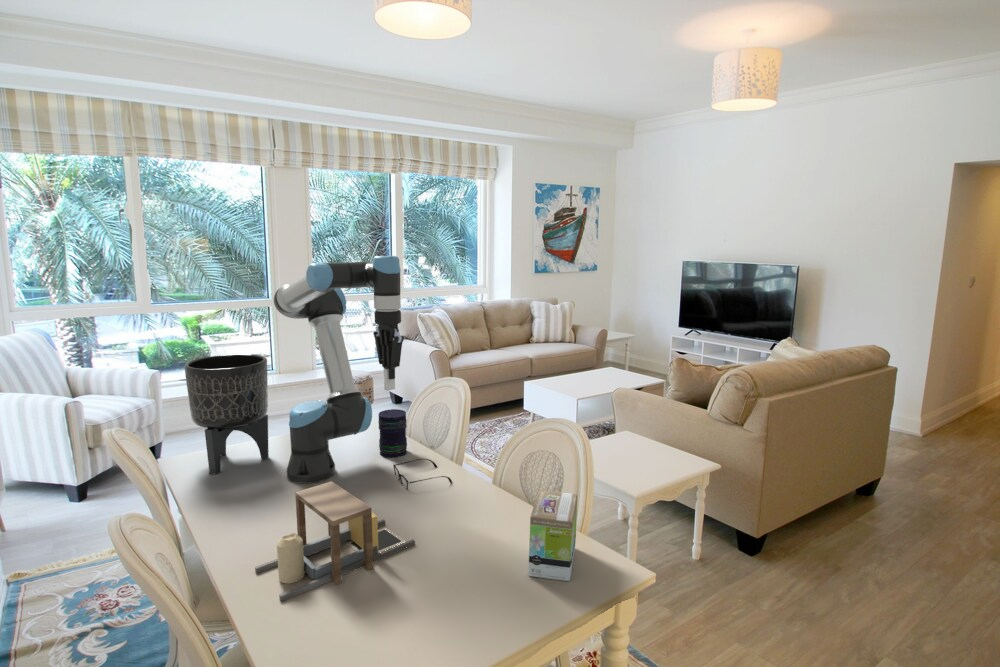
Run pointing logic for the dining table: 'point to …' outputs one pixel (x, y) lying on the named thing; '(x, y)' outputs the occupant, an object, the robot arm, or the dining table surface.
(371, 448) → the dining table surface
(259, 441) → the planter
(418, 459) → the eyeglasses
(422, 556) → the dining table surface
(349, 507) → the wooden stand with rails
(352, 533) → the yellow panel grey frame
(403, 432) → the dark blue cylinder
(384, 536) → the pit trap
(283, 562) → the candle
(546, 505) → the tea box
